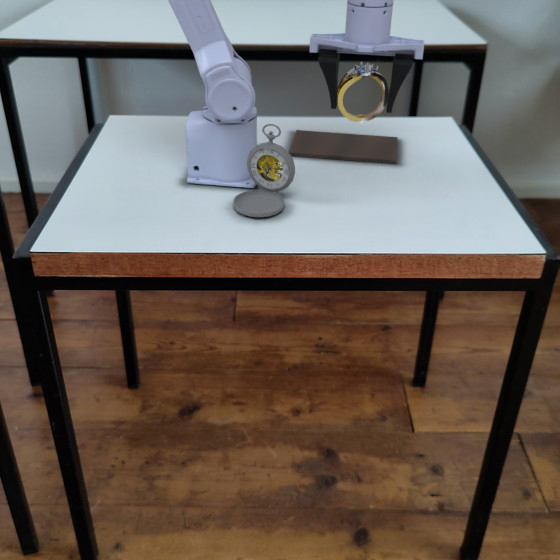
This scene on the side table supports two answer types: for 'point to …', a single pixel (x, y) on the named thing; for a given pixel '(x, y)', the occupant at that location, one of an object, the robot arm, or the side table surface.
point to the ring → (361, 72)
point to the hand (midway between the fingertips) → (361, 108)
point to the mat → (344, 146)
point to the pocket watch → (266, 178)
